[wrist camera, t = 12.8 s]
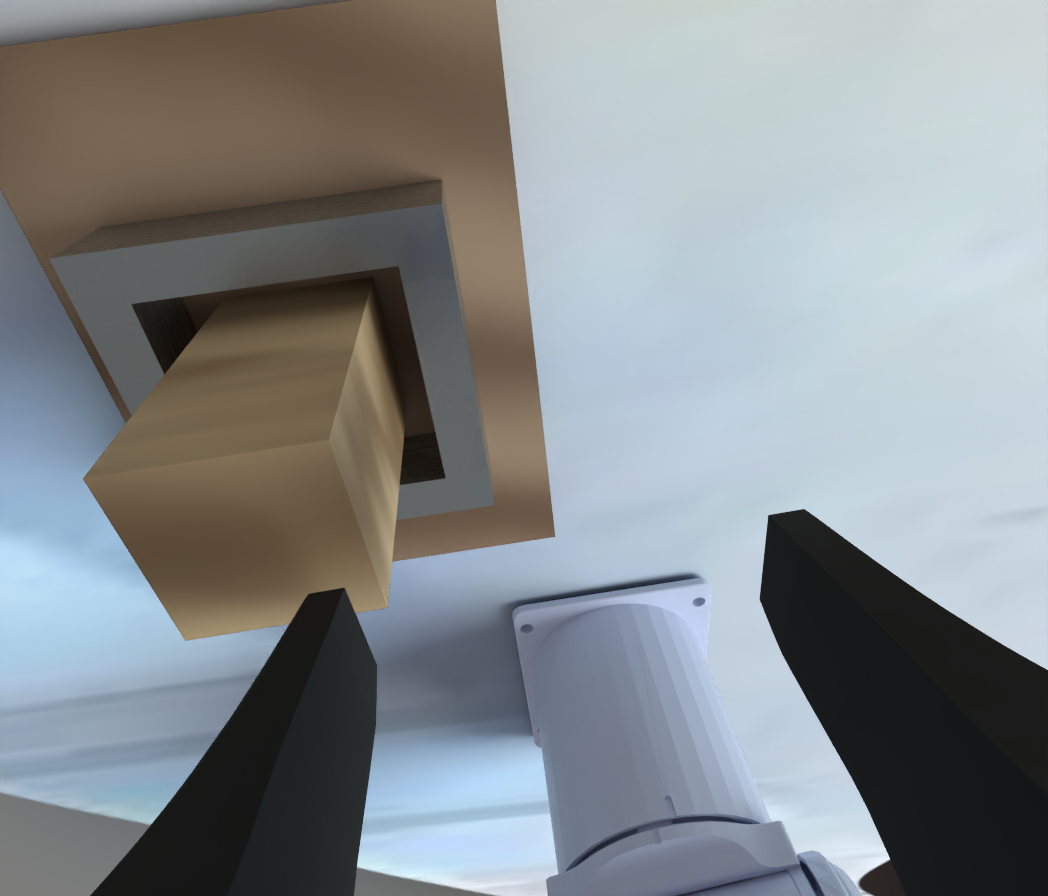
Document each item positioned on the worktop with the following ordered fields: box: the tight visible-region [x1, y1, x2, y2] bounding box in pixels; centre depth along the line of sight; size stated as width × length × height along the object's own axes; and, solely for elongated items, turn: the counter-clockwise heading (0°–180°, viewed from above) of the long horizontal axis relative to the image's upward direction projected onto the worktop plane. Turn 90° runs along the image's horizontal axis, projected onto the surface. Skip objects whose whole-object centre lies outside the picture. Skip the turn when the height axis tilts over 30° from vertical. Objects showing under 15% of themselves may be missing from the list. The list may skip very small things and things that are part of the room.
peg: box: [83, 277, 407, 641], centre depth 15 cm, size 4×4×8 cm
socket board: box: [0, 0, 555, 561], centre depth 18 cm, size 16×12×4 cm
